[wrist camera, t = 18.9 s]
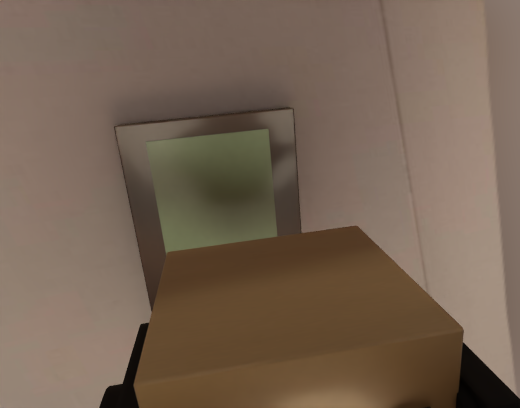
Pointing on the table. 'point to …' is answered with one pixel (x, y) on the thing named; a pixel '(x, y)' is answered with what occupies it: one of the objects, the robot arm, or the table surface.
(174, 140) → the word board
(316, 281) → the tile
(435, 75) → the table surface
